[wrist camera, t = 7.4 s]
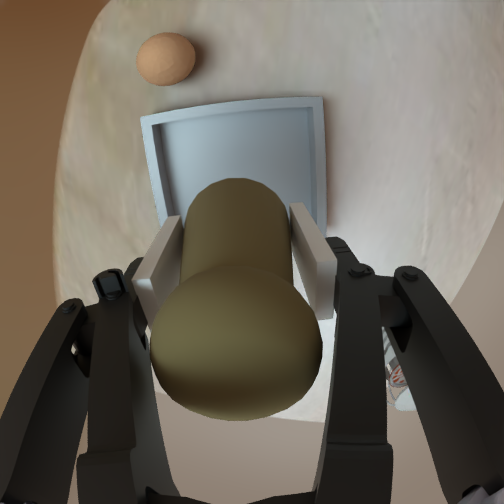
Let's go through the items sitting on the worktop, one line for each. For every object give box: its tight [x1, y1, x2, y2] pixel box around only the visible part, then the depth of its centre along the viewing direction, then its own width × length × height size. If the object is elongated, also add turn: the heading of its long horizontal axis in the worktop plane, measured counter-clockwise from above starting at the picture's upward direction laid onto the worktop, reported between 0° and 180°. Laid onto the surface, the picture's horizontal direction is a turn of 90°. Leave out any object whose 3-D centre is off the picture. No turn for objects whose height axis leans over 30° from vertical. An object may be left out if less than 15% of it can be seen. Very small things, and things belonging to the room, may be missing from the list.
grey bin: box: [140, 97, 327, 238], centre depth 29 cm, size 17×15×4 cm
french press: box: [382, 327, 417, 411], centre depth 31 cm, size 10×12×25 cm
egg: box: [136, 32, 195, 86], centre depth 21 cm, size 5×5×7 cm
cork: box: [150, 178, 323, 421], centre depth 12 cm, size 6×6×11 cm
